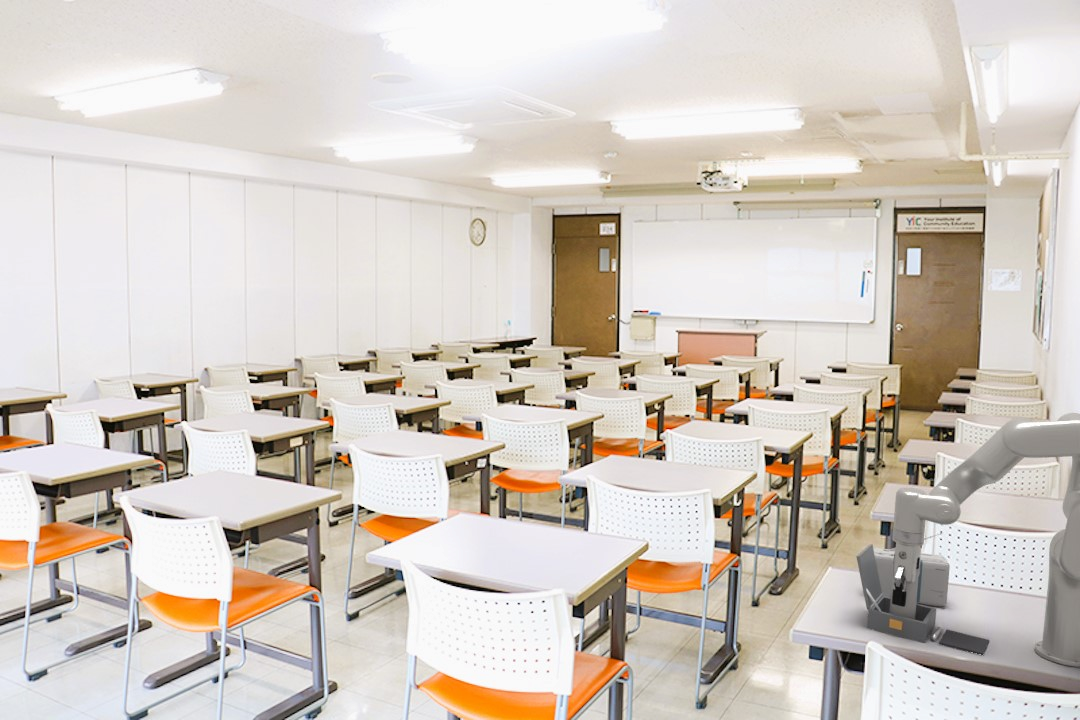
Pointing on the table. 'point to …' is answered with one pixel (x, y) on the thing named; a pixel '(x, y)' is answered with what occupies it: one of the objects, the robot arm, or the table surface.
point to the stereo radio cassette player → (929, 579)
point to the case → (881, 605)
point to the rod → (936, 633)
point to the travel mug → (911, 597)
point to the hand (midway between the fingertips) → (902, 599)
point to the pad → (964, 642)
